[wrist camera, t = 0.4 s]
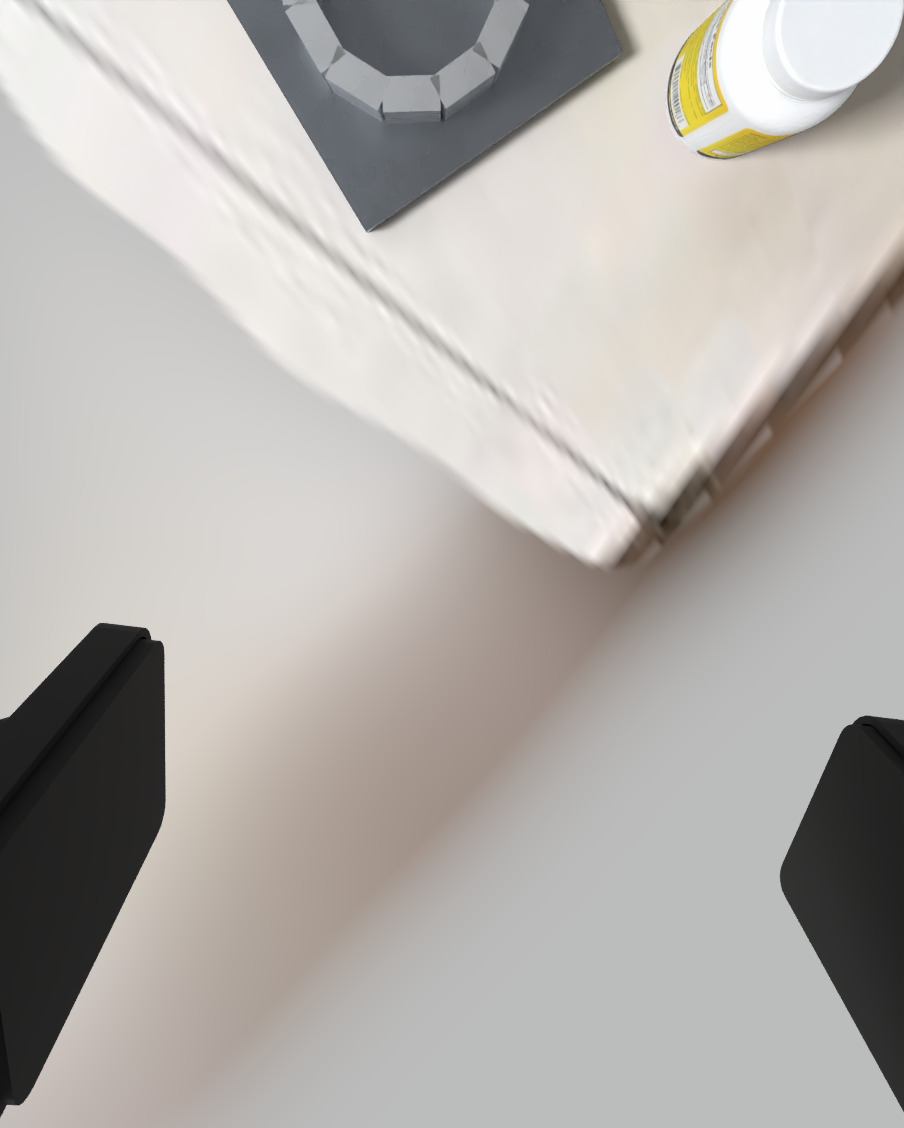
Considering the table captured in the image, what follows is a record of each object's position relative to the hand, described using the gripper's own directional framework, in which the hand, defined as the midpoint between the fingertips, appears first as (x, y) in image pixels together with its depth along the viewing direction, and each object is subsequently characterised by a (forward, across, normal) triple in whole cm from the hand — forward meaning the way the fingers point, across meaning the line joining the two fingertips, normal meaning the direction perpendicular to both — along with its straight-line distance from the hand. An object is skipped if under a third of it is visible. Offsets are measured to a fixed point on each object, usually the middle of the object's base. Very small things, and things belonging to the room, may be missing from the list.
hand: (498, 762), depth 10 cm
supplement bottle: (+29, -10, -15) cm, 34 cm away
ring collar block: (+29, +4, -16) cm, 33 cm away
